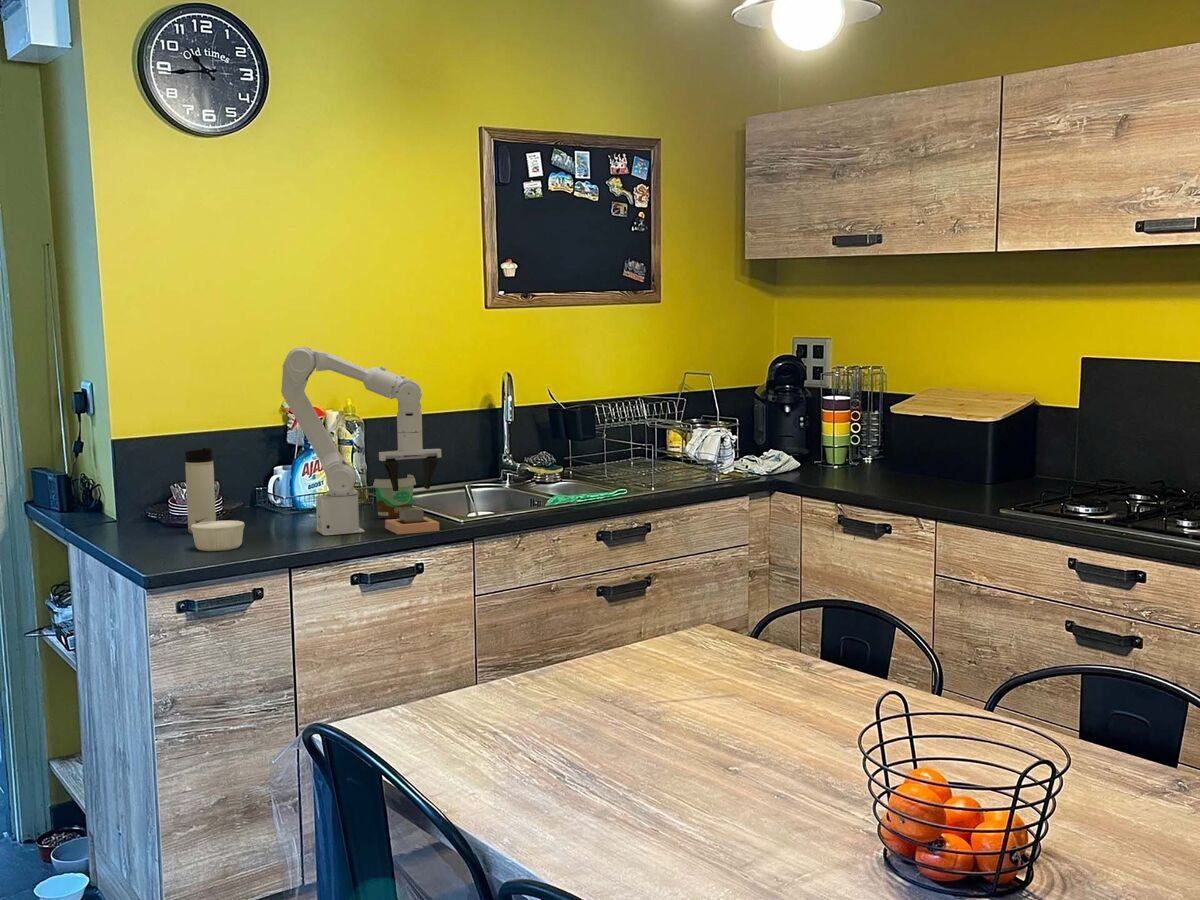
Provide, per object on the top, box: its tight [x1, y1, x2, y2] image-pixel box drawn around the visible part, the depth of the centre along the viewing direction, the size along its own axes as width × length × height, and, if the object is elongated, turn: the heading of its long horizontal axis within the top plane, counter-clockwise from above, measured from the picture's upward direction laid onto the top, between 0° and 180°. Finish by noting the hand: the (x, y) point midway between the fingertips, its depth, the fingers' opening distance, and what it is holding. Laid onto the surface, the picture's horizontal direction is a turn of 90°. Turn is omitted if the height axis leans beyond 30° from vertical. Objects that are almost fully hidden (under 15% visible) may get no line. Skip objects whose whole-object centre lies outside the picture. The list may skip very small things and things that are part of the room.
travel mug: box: [184, 447, 217, 535], centre depth 278 cm, size 6×7×20 cm
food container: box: [372, 474, 417, 517], centre depth 299 cm, size 12×6×10 cm, turn 143°
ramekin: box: [191, 520, 245, 552], centre depth 258 cm, size 11×11×5 cm
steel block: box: [398, 506, 425, 524], centre depth 279 cm, size 4×4×5 cm
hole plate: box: [384, 516, 440, 535], centre depth 279 cm, size 10×10×2 cm
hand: (411, 489), depth 278 cm, fingers open, 7 cm apart
